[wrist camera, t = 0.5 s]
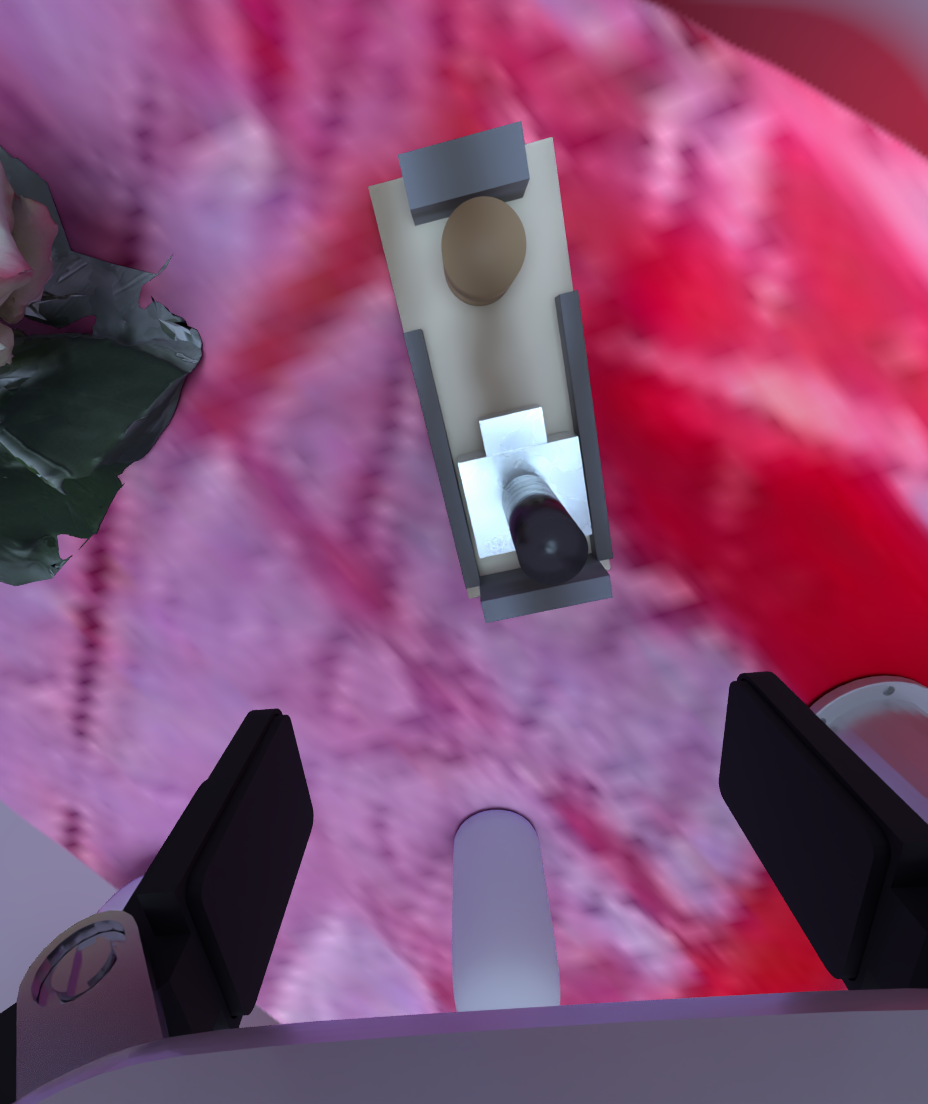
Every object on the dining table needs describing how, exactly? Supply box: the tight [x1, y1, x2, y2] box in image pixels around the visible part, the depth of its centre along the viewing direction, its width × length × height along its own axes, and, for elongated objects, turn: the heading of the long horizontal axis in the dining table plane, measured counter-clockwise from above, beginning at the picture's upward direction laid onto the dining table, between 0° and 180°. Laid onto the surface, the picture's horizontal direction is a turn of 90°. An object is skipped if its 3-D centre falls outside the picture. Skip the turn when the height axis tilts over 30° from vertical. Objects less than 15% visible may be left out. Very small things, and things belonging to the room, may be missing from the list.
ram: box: [458, 404, 592, 585], centre depth 27 cm, size 7×8×12 cm
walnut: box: [441, 196, 526, 306], centre depth 26 cm, size 4×4×5 cm
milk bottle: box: [452, 810, 560, 1012], centre depth 37 cm, size 8×8×20 cm
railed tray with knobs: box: [368, 121, 613, 623], centre depth 30 cm, size 10×25×6 cm, turn 13°
